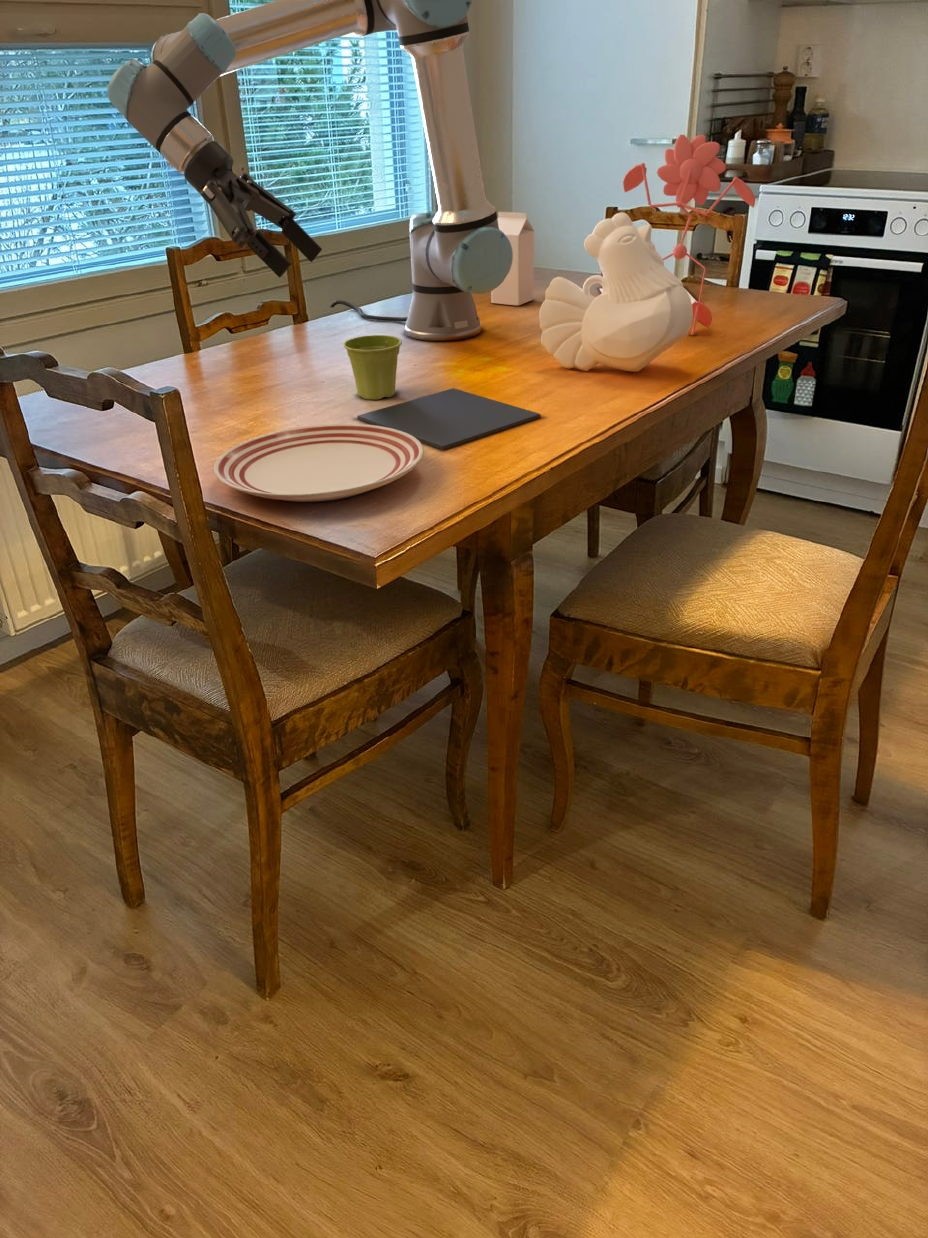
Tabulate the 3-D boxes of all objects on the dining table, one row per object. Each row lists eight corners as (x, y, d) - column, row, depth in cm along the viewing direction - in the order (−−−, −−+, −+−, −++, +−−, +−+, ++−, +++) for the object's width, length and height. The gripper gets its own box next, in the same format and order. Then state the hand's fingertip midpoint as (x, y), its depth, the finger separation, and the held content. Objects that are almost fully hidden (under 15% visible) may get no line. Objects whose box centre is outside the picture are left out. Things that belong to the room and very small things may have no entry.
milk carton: (518, 306, 215) (518, 215, 206) (491, 303, 218) (490, 213, 209) (533, 300, 220) (534, 211, 211) (506, 297, 224) (506, 209, 214)
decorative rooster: (717, 327, 166) (649, 200, 166) (690, 330, 153) (616, 192, 153) (600, 402, 180) (537, 285, 180) (566, 410, 167) (498, 284, 167)
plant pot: (396, 404, 154) (393, 350, 150) (340, 402, 156) (335, 348, 152) (410, 387, 162) (408, 335, 158) (357, 385, 164) (353, 334, 160)
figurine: (734, 340, 185) (758, 137, 167) (606, 329, 195) (616, 136, 177) (750, 322, 197) (774, 131, 179) (629, 313, 207) (640, 131, 189)
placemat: (357, 419, 148) (357, 415, 148) (453, 391, 160) (453, 387, 160) (442, 450, 135) (442, 446, 135) (540, 417, 147) (540, 413, 147)
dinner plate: (171, 492, 124) (166, 468, 122) (307, 431, 144) (305, 409, 142) (339, 536, 111) (336, 509, 110) (463, 461, 131) (462, 438, 130)
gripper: (220, 169, 159) (314, 266, 163) (145, 185, 138) (256, 296, 142) (246, 133, 155) (341, 233, 160) (173, 143, 134) (286, 258, 139)
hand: (301, 263), depth 151 cm, fingers open, 13 cm apart
